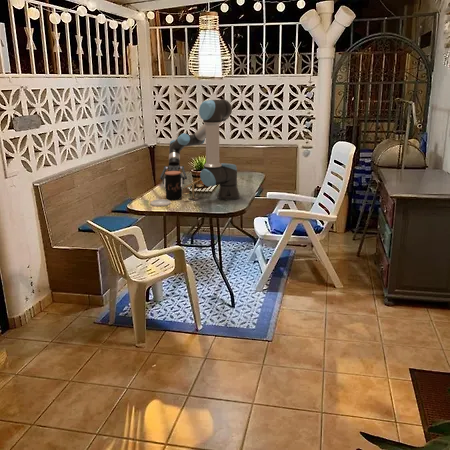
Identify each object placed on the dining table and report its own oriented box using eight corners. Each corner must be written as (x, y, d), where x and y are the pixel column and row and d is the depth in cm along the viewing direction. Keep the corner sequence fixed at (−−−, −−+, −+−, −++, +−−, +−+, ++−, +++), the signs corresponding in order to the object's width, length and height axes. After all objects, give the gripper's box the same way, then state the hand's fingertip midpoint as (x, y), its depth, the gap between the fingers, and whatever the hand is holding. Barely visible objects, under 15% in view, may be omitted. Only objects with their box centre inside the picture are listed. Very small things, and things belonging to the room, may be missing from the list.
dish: (174, 203, 310) (174, 201, 309) (158, 207, 301) (158, 205, 301) (162, 200, 319) (162, 198, 318) (146, 204, 310) (146, 201, 310)
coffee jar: (166, 200, 317) (165, 174, 312) (165, 197, 327) (164, 171, 322) (182, 199, 319) (181, 173, 314) (181, 196, 329) (180, 170, 324)
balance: (206, 198, 323) (205, 179, 319) (186, 202, 312) (185, 183, 308) (200, 196, 327) (199, 178, 323) (180, 201, 316) (179, 182, 312)
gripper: (191, 163, 332) (190, 190, 321) (158, 163, 332) (156, 191, 321) (190, 157, 325) (190, 184, 315) (156, 157, 325) (155, 185, 315)
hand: (173, 187), depth 318 cm, fingers closed on coffee jar, 11 cm apart
